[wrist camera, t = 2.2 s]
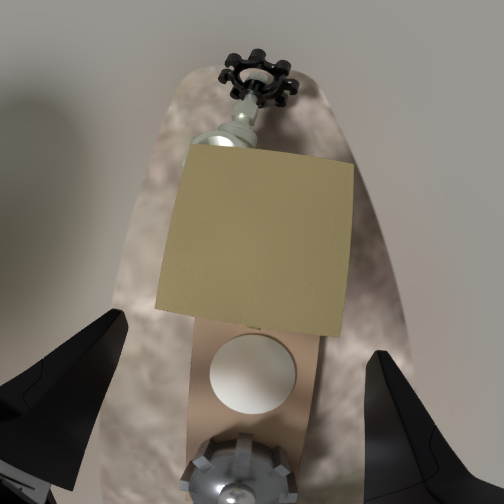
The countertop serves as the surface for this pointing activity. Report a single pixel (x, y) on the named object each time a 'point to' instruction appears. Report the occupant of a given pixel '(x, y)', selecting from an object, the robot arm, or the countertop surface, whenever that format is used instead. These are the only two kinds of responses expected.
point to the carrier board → (250, 387)
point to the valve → (249, 99)
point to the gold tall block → (260, 240)
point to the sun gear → (239, 473)
